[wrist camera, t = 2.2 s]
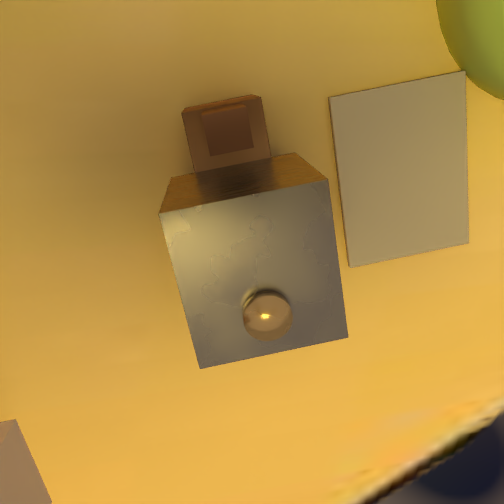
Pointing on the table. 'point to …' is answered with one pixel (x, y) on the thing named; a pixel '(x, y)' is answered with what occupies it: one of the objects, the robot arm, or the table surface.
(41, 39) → the table surface
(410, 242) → the mat
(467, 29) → the green round pieces
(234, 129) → the plane body
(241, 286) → the lever cap
